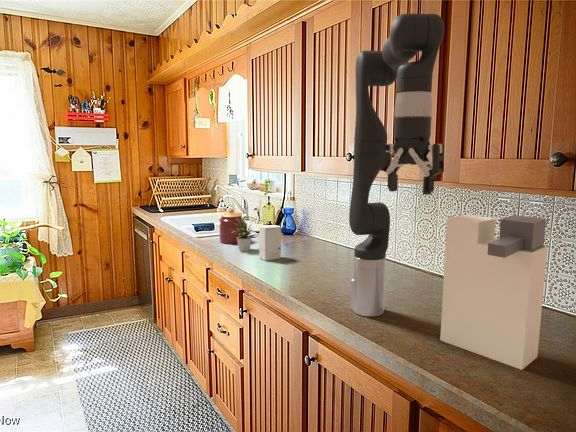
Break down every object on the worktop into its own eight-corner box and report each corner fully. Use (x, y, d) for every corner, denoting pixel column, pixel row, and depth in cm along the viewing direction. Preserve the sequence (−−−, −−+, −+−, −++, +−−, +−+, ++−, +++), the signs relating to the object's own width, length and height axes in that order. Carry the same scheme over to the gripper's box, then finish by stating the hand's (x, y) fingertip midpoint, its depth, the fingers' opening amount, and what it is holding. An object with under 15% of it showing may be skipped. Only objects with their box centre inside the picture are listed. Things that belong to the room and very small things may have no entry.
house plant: (221, 249, 212) (220, 216, 209) (244, 245, 221) (243, 213, 218) (239, 254, 201) (238, 220, 199) (262, 249, 210) (261, 216, 208)
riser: (440, 340, 112) (446, 218, 107) (457, 330, 118) (464, 214, 113) (521, 369, 98) (534, 230, 92) (537, 357, 103) (549, 224, 98)
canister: (235, 237, 239) (235, 205, 236) (249, 241, 229) (248, 208, 226) (215, 241, 231) (214, 208, 228) (228, 245, 221) (227, 211, 218)
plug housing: (479, 253, 93) (480, 225, 92) (511, 239, 104) (513, 215, 103) (513, 259, 88) (515, 230, 87) (543, 244, 99) (546, 218, 97)
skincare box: (265, 261, 190) (264, 227, 188) (258, 258, 195) (258, 225, 193) (281, 258, 194) (281, 226, 192) (275, 255, 199) (274, 223, 197)
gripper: (453, 114, 88) (449, 194, 91) (395, 117, 98) (392, 188, 101) (433, 113, 83) (429, 197, 86) (374, 116, 94) (372, 191, 96)
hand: (409, 192), depth 93 cm, fingers open, 8 cm apart
